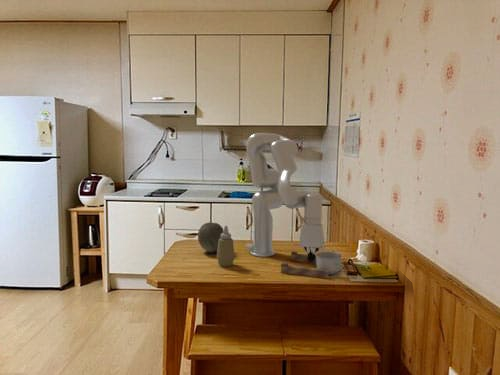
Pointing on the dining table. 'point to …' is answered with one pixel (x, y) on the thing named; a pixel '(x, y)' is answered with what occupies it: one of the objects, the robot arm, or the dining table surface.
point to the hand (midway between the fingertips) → (311, 261)
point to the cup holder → (303, 270)
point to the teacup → (329, 261)
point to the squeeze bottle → (225, 249)
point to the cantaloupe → (210, 236)
